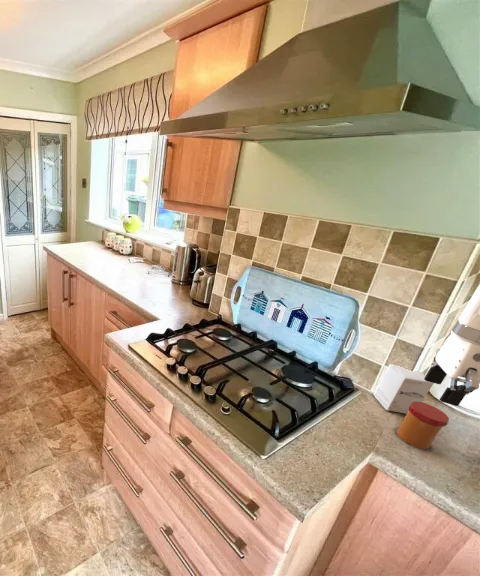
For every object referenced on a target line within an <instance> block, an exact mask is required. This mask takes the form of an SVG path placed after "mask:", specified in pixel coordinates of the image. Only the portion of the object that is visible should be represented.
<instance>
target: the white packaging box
mask: <svg viewBox="0 0 480 576" xmlns="http://www.w3.org/2000/svg"><path fill="white" fill-rule="evenodd" d="M400 366H401V365H398V366H397V365H396V364H391V363H390V364H388V366H387V368H386V370H385V372H384V374H383V375H382V377H381V380H380V381H379V383H378V385H377V387H376V389H375V391H374V393H373V396H374V398H375V399H376V400H377V401H378V402H379V404H380V405H381V406H382V407H383V409H385V410H386V411H389V412H396V413H400V414H405V415H406V414H407V413H408V411H409V406H410V404H411V403H412V402H422V403H423V401H424V400H425V398H426V396H427V395H428V393H429V392H430V390H431V388H432V387H433V384H434V383H432V382H428V381H425V379H424V378H425V376H426V374H424V373H422V371H420V370H419V369H418V371H415V372H413V371H411V370H408V369H405V368H403V367H400Z"/></svg>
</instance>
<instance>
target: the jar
mask: <svg viewBox="0 0 480 576" xmlns="http://www.w3.org/2000/svg"><path fill="white" fill-rule="evenodd" d="M442 429H443V427H438V426H434V425H431V424H428V423H426V422H423V421H421V420H420V419H418V418H416V417H415V416H414V415H413V414H412V413H411V412H410V411H408V413H407V414H405V416H404V418H403V420H402V421H401V423H400V425H399V426H398V428H397V430H396V434H397V436H398V437H399V438H400V439H401V440H402V441H404V442H406V443H407V444H409V445H411V446H413V447H415V448H417V449H421V450H429V449H430V447H431V446H432V444H433V443H434V442H435V440H436V438H437V436H438V435H439V434H440V432H441V431H442Z"/></svg>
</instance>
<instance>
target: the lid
mask: <svg viewBox="0 0 480 576" xmlns="http://www.w3.org/2000/svg"><path fill="white" fill-rule="evenodd" d="M409 411H410V412H411V413H412V414H413V415H414V416H415V417H416V418H418V419H420V420H421V421H423V422H426V423H428V424H431V425H434V426H438V427H442V428H444V427H446V426H447V425H448V424H449V421H450V418H449V416H448V415H447V414H446V413H445V412H444V411H443V410H441V409H439V408H437V407H435V406H433V405H432V404H429V403H426V402H423V401H422V402H412V403H411V404H410V406H409Z"/></svg>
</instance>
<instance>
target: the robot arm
mask: <svg viewBox="0 0 480 576" xmlns="http://www.w3.org/2000/svg"><path fill="white" fill-rule="evenodd" d="M447 376H448V377H449V378H450V385H449V387H448V386H447V387H446V388H445V390H444V392H443V393H442V395H441V396H440V398H439V401H440V402H441V403H445V404H447V405H452V406H455V407H459V406H460V404H461V402H462V401H463V400H464V398H465V396H467V395H469V394H470V393H473V392H474V391H477V390H478V389H479V388H480V284H479V285H478V286H477V288H476V289H475V291H474V292H473V294H472V296H471V297H470V299H469V301H468V302H467V304H466V306H465V307H464V309H463V311H462V312H461V314H460V316H459V317H458V319H457V321H456V322H455V324H454V326H453V328H452V329H451V331H450V334H449V335H448V337H447V338H446V339H445V341H444V342H443V343H442V345H441V346H440V348H437V349H436V351H435V356H433V362H432V363H431V364H430V368H429V369H428V371H427V373H426V374H425V378H424V379H425V381H428V382H432V383H433V384H435V385H441V384H442V383H443V381H444V380H445V378H446V377H447ZM463 378H464V379H463ZM458 382H459V383H462V384H459V385H458Z"/></svg>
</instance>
